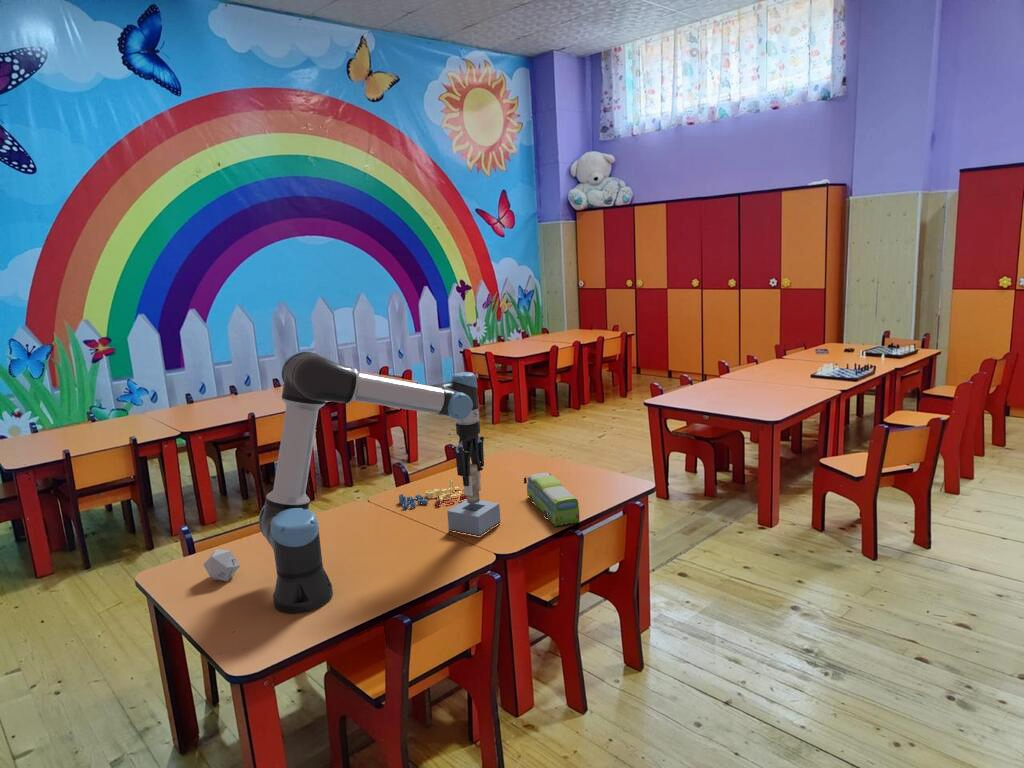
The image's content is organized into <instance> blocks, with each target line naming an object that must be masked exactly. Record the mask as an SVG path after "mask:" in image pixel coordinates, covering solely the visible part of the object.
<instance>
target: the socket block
mask: <svg viewBox="0 0 1024 768" xmlns="http://www.w3.org/2000/svg"><path fill="white" fill-rule="evenodd" d="M500 508H501V507H500V503H499V502H492V501H487V500H482V499H480V501H479V502H478V503H474V504H470V503H468V502H467V500H465V501H463V502H460V503H458V504H455V506H453V507H451V508H450V509H447V511H446V514H447V526H448V531H449V530H451V531H456V532H460V533H466V534H471V535H476V536H481V535H482V534H484V533H485V532H487V531H488V530H490V529H491V528H492V527H494V526H496V525H497V524H499V523H501V510H500Z"/></svg>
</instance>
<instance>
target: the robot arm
mask: <svg viewBox="0 0 1024 768" xmlns="http://www.w3.org/2000/svg"><path fill="white" fill-rule="evenodd" d="M281 379H282V383H283V387H282V392H281V393H282V395H281V400H282V401H283V403H285V410H284V412H285V413H284V418H283V425H282V432H281V437H280V444H279V451H278V457H277V464H276V470H275V476H274V481H273V483H274V484H273V488H272V489H273V490H271V491H270V492H268V493H267V494H266V497H265V502H264V505H263V506H262V508H261V510H260V513H259V515H258V524H259V525H258V526H259V529H260V532H261V533H262V536H263V537H264V538H265V539H266V541H267V542H268V544H269V545H270V547H271V548H272V550H273V554H274V561H275V569H276V580H275V581H276V582H275V587H274V592H273V595H272V600H273V607H274V608H275V610H277V611H279V612H281V613H285V614H300V613H306V612H310V611H313V610H316V609H318V608H320V607H322V606H324V605H325V604H327V603H329V601H330V600H331V599H332V598H333V595H334V594H333V593H334V592H333V585H332V582H331V580H330V578H329V576H328V574H327V572H326V570H325V569H324V563H323V557H322V547H321V539H320V525H319V522H318V518H317V516H316V514H315V513H314V511H312V510H311V509H310V508H309V507H310V501H311V500H310V498H309V496H308V495H307V494H306V490H307V484H308V477H309V473H310V466H311V459H312V452H313V446H314V441H315V434H316V428H317V421H318V416H319V410H320V409H321V408H322V407H324V406H325V405H326V402H333V403H339V404H340V403H341V404H350V403H352V402H359V403H366V404H373V405H378V406H384V407H385V406H386V407H390V408H397V409H402V410H403V409H404V410H410V411H416V412H422V413H426V414H427V413H429V414H434V415H439V416H444V417H445V416H446V417H451V418H452V419H454V421H455V422H456V423H455V431H456V432H455V434H456V435H457V436H458V437H459V440H458V444H457V446H456V445H455V446H453V451H454V454H455V462H456V471H457V476H460V477H462V485H463V488H464V494H465V495H469V496H472V495H473V490H472V477H471V475H470V464H477V470H478V484H479V492H481V491H482V486H481V485H482V483H481V472H482V471H483V470H484V468H483V467H484V466H485V455H484V441H485V437H484V436H481V435H480V433H481V423H480V421H479V420H480V414H479V413H480V411H479V399H478V398H479V397H478V394H479V393H478V381H477V376H476V374H475V373H473V372H470V371H461V372H456V373H454V374H452V376H451V381H448V382H443V383H435V384H430V385H428V384H427V385H425V384H422V383H421V384H420V383H415V382H409V381H404V380H401V379H400V380H399V379H394V378H388V377H383V376H379V375H378V376H377V375H373V374H368V373H362V372H358V370H357V369H356V367H351V366H347V365H343V364H340V363H337V362H335V361H332V360H331V359H329V358H326V357H324V356H321V355H319V354H318V353H316V352H313V351H299V352H296V353H293V354H292V355H290V356H288V357H287V359H286V360H285V361H284V362H283V364H282V367H281Z"/></svg>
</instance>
